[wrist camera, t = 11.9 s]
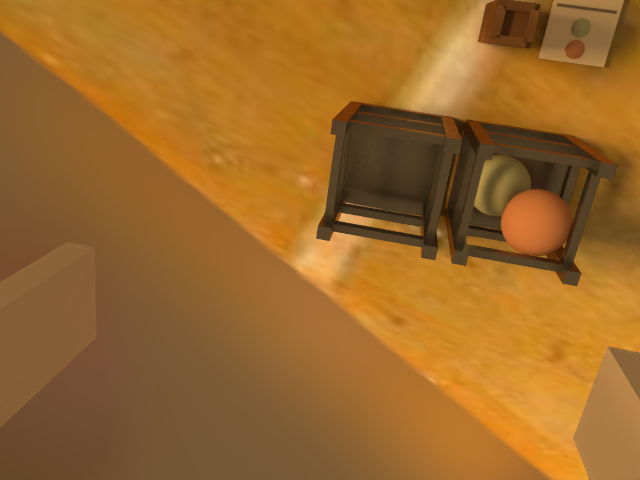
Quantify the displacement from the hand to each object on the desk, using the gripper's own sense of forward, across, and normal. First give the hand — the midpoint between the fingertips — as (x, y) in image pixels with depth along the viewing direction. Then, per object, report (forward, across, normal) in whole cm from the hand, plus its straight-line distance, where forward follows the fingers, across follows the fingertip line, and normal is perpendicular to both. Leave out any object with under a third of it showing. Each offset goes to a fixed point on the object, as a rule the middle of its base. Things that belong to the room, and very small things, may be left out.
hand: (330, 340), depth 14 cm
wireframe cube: (+37, 0, -3) cm, 37 cm away
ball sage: (+33, +9, -3) cm, 35 cm away
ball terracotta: (+29, +12, -4) cm, 32 cm away
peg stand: (+37, +7, +9) cm, 38 cm away
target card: (+37, +13, +11) cm, 40 cm away
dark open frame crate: (+37, +10, -3) cm, 38 cm away
